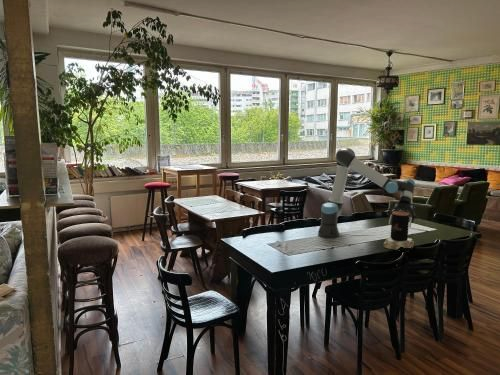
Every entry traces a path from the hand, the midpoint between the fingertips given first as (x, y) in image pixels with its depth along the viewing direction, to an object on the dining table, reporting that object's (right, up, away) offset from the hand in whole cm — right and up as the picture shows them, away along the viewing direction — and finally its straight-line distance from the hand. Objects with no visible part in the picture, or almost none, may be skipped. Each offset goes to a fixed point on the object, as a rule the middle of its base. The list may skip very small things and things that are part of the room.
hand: (399, 225), depth 242 cm
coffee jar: (+1, -10, +4) cm, 11 cm away
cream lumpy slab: (+1, -15, +4) cm, 16 cm away
